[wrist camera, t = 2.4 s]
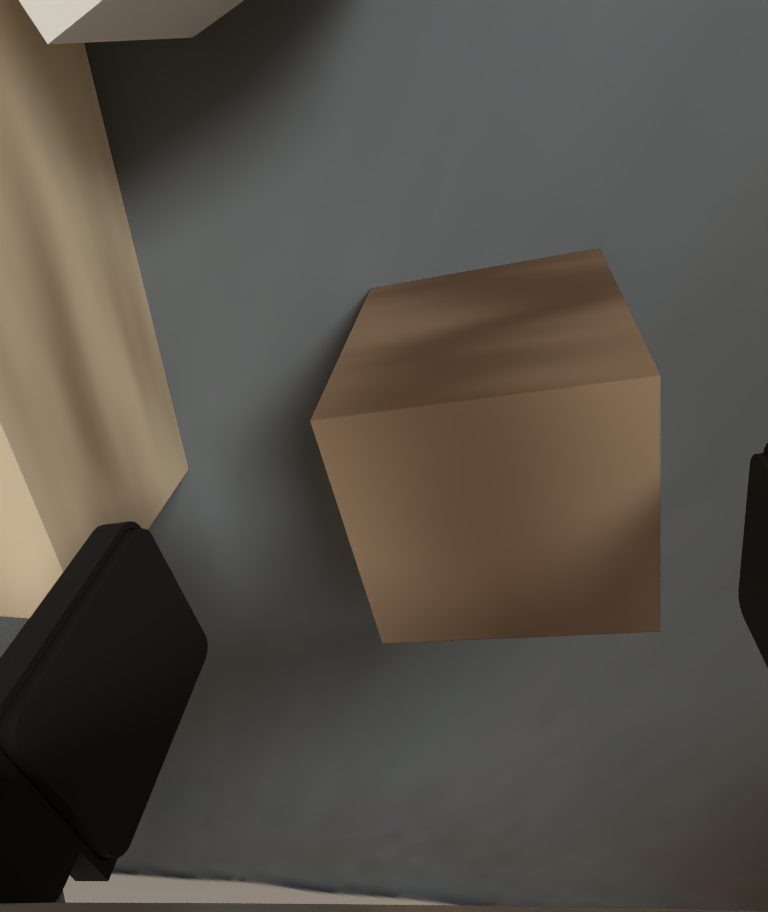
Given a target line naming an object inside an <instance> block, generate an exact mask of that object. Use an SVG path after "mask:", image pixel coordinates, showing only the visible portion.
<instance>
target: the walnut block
mask: <svg viewBox="0 0 768 912" xmlns="http://www.w3.org/2000/svg"><path fill="white" fill-rule="evenodd" d="M660 386H661V375H660V373H659V371H658V369H657V367H656V365H655V363H654V361H653V359H652V356H651V354H650V352H649V350H648V348H647V346H646V344H645V342H644V340H643V338H642V336H641V334H640V331H639V329H638V327H637V325H636V323H635V321H634V319H633V317H632V315H631V313H630V311H629V308H628V306H627V304H626V302H625V300H624V298H623V296H622V294H621V292H620V290H619V288H618V285H617V283H616V281H615V279H614V277H613V275H612V273H611V271H610V269H609V267H608V265H607V262H606V260H605V258H604V256H603V254H602V252H601V250H600V248H597V249H591V250H585V251H580V252H574V253H568V254H563V255H557V256H551V257H546V258H540V259H534V260H529V261H523V262H517V263H512V264H506V265H501V266H495V267H489V268H484V269H478V270H472V271H467V272H461V273H455V274H450V275H444V276H438V277H433V278H427V279H421V280H416V281H410V282H405V283H399V284H393V285H388V286H382V287H376V288H371V289H370V291H369V293H368V295H367V297H366V299H365V302H364V304H363V306H362V308H361V310H360V313H359V315H358V317H357V319H356V321H355V324H354V326H353V328H352V330H351V332H350V334H349V337H348V339H347V341H346V343H345V345H344V348H343V350H342V352H341V354H340V356H339V359H338V361H337V363H336V365H335V367H334V370H333V372H332V374H331V376H330V378H329V381H328V383H327V385H326V387H325V389H324V392H323V394H322V396H321V398H320V400H319V403H318V405H317V407H316V409H315V411H314V413H313V416H312V418H311V420H310V422H311V425H312V428H313V431H314V434H315V437H316V441H317V444H318V447H319V450H320V453H321V456H322V459H323V462H324V465H325V468H326V471H327V474H328V477H329V481H330V484H331V487H332V490H333V493H334V496H335V499H336V502H337V505H338V508H339V511H340V514H341V517H342V521H343V524H344V527H345V530H346V533H347V536H348V539H349V542H350V545H351V548H352V551H353V554H354V557H355V561H356V564H357V567H358V570H359V573H360V576H361V579H362V582H363V585H364V588H365V591H366V594H367V597H368V601H369V604H370V607H371V610H372V613H373V616H374V619H375V622H376V625H377V628H378V631H379V634H380V637H381V641H382V644H385V643H408V642H431V641H455V640H478V639H501V638H524V637H547V636H570V635H593V634H616V633H640V632H660Z"/></svg>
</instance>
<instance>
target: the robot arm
mask: <svg viewBox="0 0 768 912" xmlns="http://www.w3.org/2000/svg"><path fill="white" fill-rule="evenodd" d="M739 603H740V608H741V611H742V614H743V617H744V619H745V621H746V623H747V625H748V628H749V630H750V632H751V634H752V636H753V638H754V640H755V642H756V644H757V646H758V648H759V651H760V653H761V655H762V657H763V659H764V661H765V663H766V665H767V667H768V443H767V444H766V446H765V448H764V453H760V454H754V455H753V456H752V458H751V462H750V471H749V482H748V493H747V504H746V515H745V526H744V537H743V548H742V559H741V570H740V581H739ZM206 655H207V639H206V636H205V634H204V632H203V630H202V628H201V626H200V624H199V622H198V621H197V619H196V617H195V615H194V613H193V611H192V609H191V607H190V606H189V604H188V602H187V600H186V598H185V596H184V594H183V592H182V591H181V589H180V587H179V585H178V583H177V581H176V579H175V578H174V576H173V574H172V572H171V570H170V568H169V566H168V564H167V563H166V561H165V559H164V557H163V555H162V553H161V551H160V549H159V548H158V546H157V544H156V542H155V540H154V538H153V536H152V535H151V533H150V532H149V531H148V530H147V529H143V528H141V526H140V525H139V524H137V523H136V522H132V521H128V522H120V523H112V524H104V525H100V526H98V527H97V528H96V529H95V530H94V531H93V532H92V533H91V535H90V536H89V537H88V539H87V540H86V542H85V543H84V544H83V546H82V547H81V548H80V550H79V551H78V553H77V554H76V555H75V557H74V558H73V559H72V561H71V562H70V564H69V565H68V566H67V568H66V569H65V570H64V572H63V573H62V574H61V576H60V577H59V579H58V580H57V581H56V583H55V584H54V585H53V587H52V588H51V590H50V591H49V592H48V594H47V595H46V596H45V598H44V599H43V601H42V602H41V603H40V605H39V606H38V607H37V609H36V610H35V612H34V613H33V614H32V616H31V617H30V618H29V620H28V621H27V622H26V624H25V625H24V627H23V628H22V629H21V631H20V632H19V633H18V635H17V636H16V638H15V639H14V640H13V642H12V643H11V644H10V646H9V647H8V649H7V650H6V651H5V653H4V654H3V655H2V657H1V658H0V912H768V911H739V910H708V909H654V908H587V907H520V906H447V905H351V904H350V905H348V904H343V905H342V904H240V903H238V904H237V903H235V904H234V903H233V904H232V903H65V899H64V894H63V888H64V886H65V884H66V882H67V879H68V877H69V875H71V877H72V878H73V879H74V880H75V881H108V880H109V878H110V876H111V873H112V871H113V868H114V866H115V863H116V861H117V859H118V857H121V856H122V855H124V853H125V852H126V851H127V850H128V848H129V846H130V844H131V842H132V839H133V837H134V834H135V832H136V829H137V827H138V824H139V822H140V819H141V817H142V814H143V812H144V809H145V807H146V805H147V802H148V800H149V797H150V795H151V792H152V790H153V787H154V785H155V782H156V780H157V777H158V775H159V772H160V770H161V767H162V765H163V762H164V760H165V758H166V755H167V753H168V750H169V748H170V745H171V743H172V740H173V738H174V735H175V733H176V730H177V728H178V725H179V723H180V720H181V718H182V715H183V713H184V711H185V708H186V706H187V703H188V701H189V698H190V696H191V693H192V691H193V688H194V686H195V683H196V681H197V678H198V676H199V673H200V671H201V669H202V666H203V664H204V661H205V659H206Z"/></svg>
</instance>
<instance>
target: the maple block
mask: <svg viewBox="0 0 768 912" xmlns="http://www.w3.org/2000/svg"><path fill="white" fill-rule="evenodd" d="M187 471H188V465H187V461H186V457H185V453H184V449H183V445H182V441H181V437H180V433H179V429H178V425H177V421H176V416H175V412H174V408H173V404H172V400H171V396H170V392H169V388H168V384H167V380H166V376H165V372H164V367H163V363H162V359H161V355H160V351H159V347H158V343H157V339H156V335H155V331H154V327H153V323H152V318H151V314H150V310H149V306H148V302H147V298H146V294H145V290H144V286H143V282H142V278H141V274H140V269H139V265H138V261H137V257H136V253H135V249H134V245H133V241H132V237H131V233H130V229H129V225H128V220H127V216H126V212H125V208H124V204H123V200H122V196H121V192H120V188H119V184H118V180H117V176H116V171H115V167H114V163H113V159H112V155H111V151H110V147H109V143H108V139H107V135H106V131H105V127H104V122H103V118H102V114H101V110H100V106H99V102H98V98H97V94H96V90H95V86H94V82H93V78H92V73H91V69H90V65H89V61H88V57H87V53H86V49H85V45H84V43H66V44H47V42H46V41H45V39H44V38H43V36H42V35H41V33H40V32H39V30H38V29H37V27H36V26H35V24H34V23H33V21H32V20H31V18H30V17H29V15H28V14H27V12H26V11H25V9H24V8H23V6H22V5H21V3H20V2H19V0H0V616H7V617H19V618H30V617H31V616H32V614H33V613H34V612H35V610H36V609H37V607H38V606H39V605H40V603H41V602H42V601H43V599H44V598H45V596H46V595H47V594H48V592H49V591H50V590H51V588H52V587H53V585H54V584H55V583H56V581H57V580H58V579H59V577H60V576H61V574H62V573H63V572H64V570H65V569H66V568H67V566H68V565H69V564H70V562H71V561H72V559H73V558H74V557H75V555H76V554H77V553H78V551H79V550H80V548H81V547H82V546H83V544H84V543H85V542H86V540H87V539H88V537H89V536H90V535H91V533H92V532H93V531H94V530H95V529H96V528H97V527H98V526H100V525H104V524H112V523H120V522H128V521H132V522H136V523H137V524H139V525H140V526H141V528H143V529H147V530H148V529H149V527H150V526H151V524H152V523H153V521H154V520H155V518H156V517H157V515H158V514H159V512H160V511H161V509H162V508H163V506H164V505H165V503H166V502H167V500H168V499H169V497H170V496H171V495H172V493H173V492H174V490H175V489H176V487H177V486H178V484H179V483H180V481H181V480H182V478H183V477H184V475H185V474H186V472H187Z"/></svg>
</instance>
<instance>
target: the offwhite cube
mask: <svg viewBox="0 0 768 912" xmlns="http://www.w3.org/2000/svg"><path fill="white" fill-rule="evenodd" d="M243 1H244V0H19V2H20V3H21V5H22V6H23V8H24V9H25V11H26V12H27V14H28V15H29V17H30V18H31V20H32V21H33V23H34V24H35V26H36V27H37V29H38V30H39V32H40V33H41V35H42V36H43V38H44V39H45V41H46V42H47V44H66V43H88V42H109V41H130V40H152V39H173V38H193V37H194V36H196V35H197V34H198V33H200V32H201V31H203V30H204V29H205V28H207V27H208V26H209V25H211V24H212V23H214V22H215V21H216V20H218V19H219V18H220V17H222V16H223V15H225V14H226V13H227V12H229V11H230V10H232V9H233V8H234V7H236V6H237V5H238V4H240V3H241V2H243Z"/></svg>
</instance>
